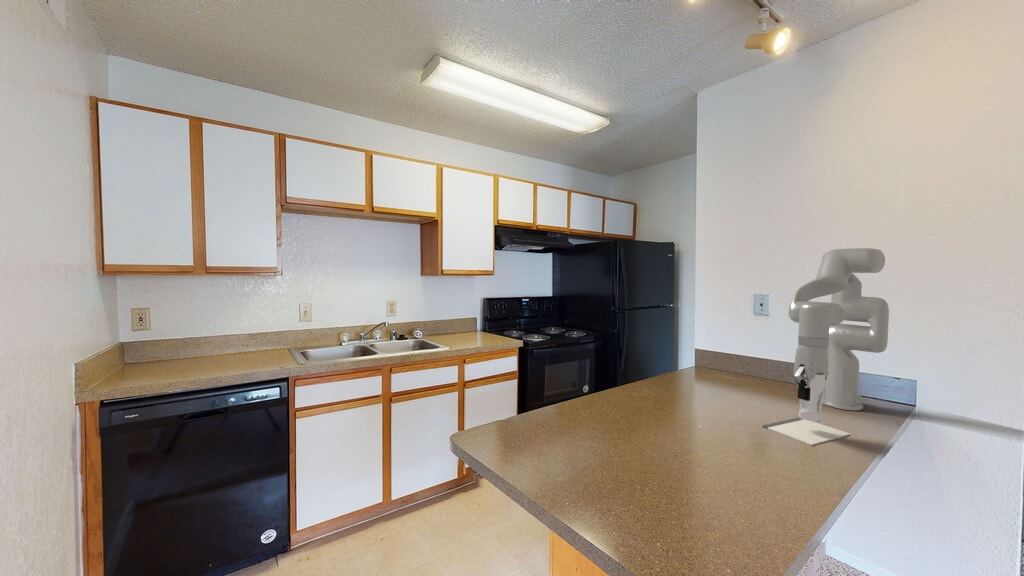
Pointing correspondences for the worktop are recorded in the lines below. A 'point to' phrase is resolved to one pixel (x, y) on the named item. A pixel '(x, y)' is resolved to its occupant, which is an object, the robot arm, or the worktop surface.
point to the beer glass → (813, 400)
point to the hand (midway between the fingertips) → (810, 397)
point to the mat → (806, 431)
